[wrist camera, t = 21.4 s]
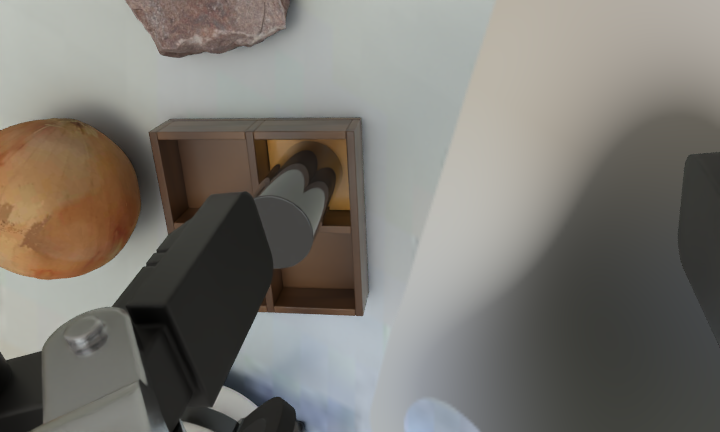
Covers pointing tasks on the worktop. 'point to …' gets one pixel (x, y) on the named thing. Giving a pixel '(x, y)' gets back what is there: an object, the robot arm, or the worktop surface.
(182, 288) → the robot arm
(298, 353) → the worktop surface
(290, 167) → the dark grey cylinder
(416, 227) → the worktop surface
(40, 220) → the onion
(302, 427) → the coffee press
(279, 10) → the stone
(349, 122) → the brown compartment tray
